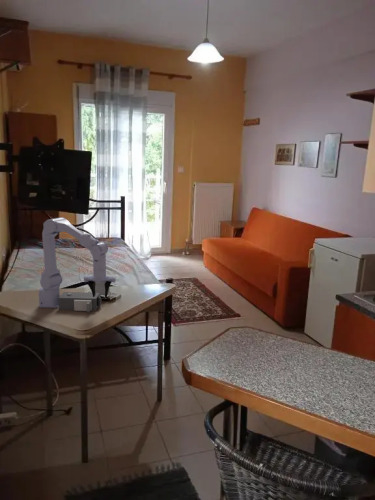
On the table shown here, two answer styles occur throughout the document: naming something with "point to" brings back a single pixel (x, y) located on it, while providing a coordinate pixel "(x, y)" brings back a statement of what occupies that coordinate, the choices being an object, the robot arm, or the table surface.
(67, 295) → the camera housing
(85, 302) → the camera door
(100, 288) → the small box
